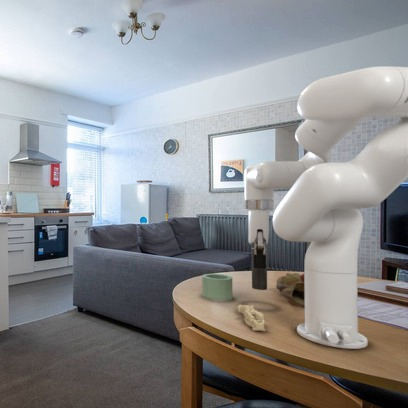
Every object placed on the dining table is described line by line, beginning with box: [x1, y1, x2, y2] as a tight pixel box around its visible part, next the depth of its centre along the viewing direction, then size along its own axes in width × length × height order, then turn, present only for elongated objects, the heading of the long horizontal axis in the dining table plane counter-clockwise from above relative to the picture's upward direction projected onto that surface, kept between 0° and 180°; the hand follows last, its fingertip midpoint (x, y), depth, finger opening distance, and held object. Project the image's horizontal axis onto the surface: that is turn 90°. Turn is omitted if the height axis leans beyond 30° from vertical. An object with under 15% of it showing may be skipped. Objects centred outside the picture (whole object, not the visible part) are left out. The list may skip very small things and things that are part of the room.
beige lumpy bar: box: [237, 304, 266, 332], centre depth 87 cm, size 17×4×3 cm, turn 169°
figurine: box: [275, 272, 305, 308], centre depth 103 cm, size 15×9×20 cm
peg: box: [251, 247, 268, 291], centre depth 99 cm, size 4×4×12 cm
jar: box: [201, 273, 234, 301], centre depth 108 cm, size 9×9×7 cm
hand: (259, 266), depth 99 cm, fingers closed on peg, 4 cm apart
